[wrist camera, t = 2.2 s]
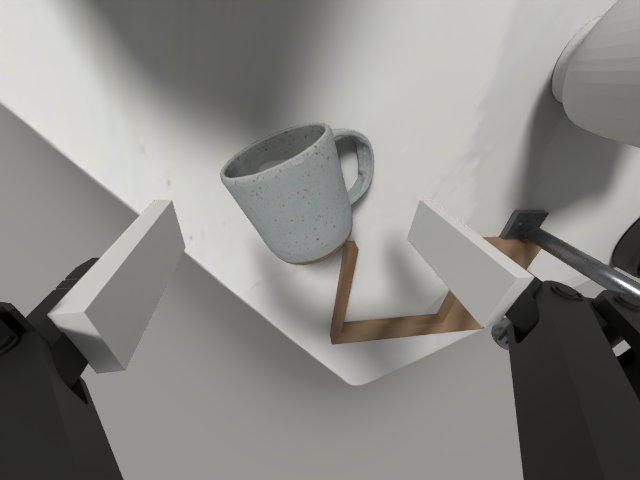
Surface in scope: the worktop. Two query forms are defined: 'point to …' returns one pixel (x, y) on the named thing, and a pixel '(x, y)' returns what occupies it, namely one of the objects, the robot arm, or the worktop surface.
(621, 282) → the bent metal bar
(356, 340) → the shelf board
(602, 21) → the teacup
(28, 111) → the worktop surface
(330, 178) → the ceramic mug
